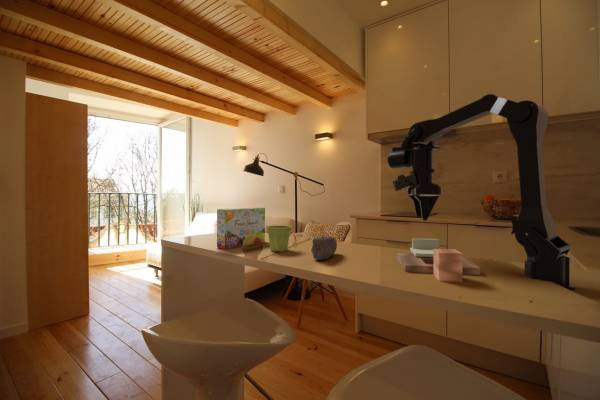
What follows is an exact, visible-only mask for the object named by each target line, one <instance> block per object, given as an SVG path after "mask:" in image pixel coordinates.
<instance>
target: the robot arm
mask: <svg viewBox="0 0 600 400" xmlns="http://www.w3.org/2000/svg"><path fill="white" fill-rule="evenodd" d="M493 114H494V115H496V116H499V117H503V118H505V119H506V121H507V126H508V128H509V132H510V133H511V136H512V137H513V140H514V142H515V144H516V151H517V164H518V165H517V166H518V178H519V192H520V210H519V213H518V214H514V215H513V214H512V215H510V222H511V224H512V230H511V233H510V234H511V235H514V237H515V240H516V242H517V243H518V244H520V245H521V246H522V247H523V249H524V251H525V254H526V260H524V276H525V277H527V278H528V279H531V280H538V281H539V280H541V281H546V282H551V283H553V284H555V285H557V286H560V287H561V288H564V289H566V290H576V286H574V285H572V284H571V283H570V280H571V279H570V278H571V277H570V276H571V273H570V271H571V270H570V269H571V267H570V266H571V265H570V261H571V260H570V257H569V256H568V254H569V252H570V250H571V249H572V245H570V243H568V242H567V241H566V240H564V239H563V238H562V237H561V236H560V235H558V231H557V228H556V223H555V221H554V218H553V216H552V214H551V212H550V209H549V208H548V206H547V205H548V204H547V194H546V181H545V180H546V179H545V168H544V166H545V165H544V155H543V152H544V151H543V140H544V137H545V135H546V132H547V126H548V120H549V112H548V110H547V108H545V107H543V105H540V104H538V103H536V102H534V101H532V100H522V101H519V102H517V101H513V100H511V99H507V98H503V97H500V96H497V95H495V94H492V93H488V94H486V95H484V96H482V97H481V98H479V99H477V100H474V101H473V102H470V103H468V104H466V105H464V106H461V107H459V108H457V109H455V110H453V111H450V112H448V113H447V114H444V115H442V116H440V117H436V118H433V119H432V118H431V119H425V120H421V121H418V122H415V123H414V124H412V125H410V128H409V130H408V133H407V135H406V137H405V138H404V140H403V141H402V143H401V145H400V146H398V147H397V146H394V147H392V148H391V151H390V153H389V154H388V157H387V164H388V166H389V167H390V168H391V169H404V168H405V169H406V168H407V169H408V168H411V170H410V171H409V175H406V176H405V175H404V174H400V175H398V176H396V177H397V178H396V179H395V180H392V181H391V184H392V188H393V189H394V192H398V191H401V190H402V189H405V188H406V195H407V196H408V198H409V199H411V201H412V203H413V206H414V211H415V215H416V218H422V220H423V221H428V219H429V217H430V215H431V213H432V211H433V209H434V207H435V205H436V203H437V201H438V199H439V198H440V195H442V188H441V187H442V186H440V185H439V184H438V183H437V184H436V183H433V177H434V176H433V175H434V174H435V168H433V167H434V166H433V164H434V163H433V162H434V161H433V160H434V156H433V155H434V154H433V153H434V152H433V151H438V150H441V147H440V145H438V144H437V143H436V141H437V140H439V139H440V138H441V137H442V136H443V135H445V134H446V133H448V132H450V131H452V130H455V129H457V128H459V127H462V126H465V125H466V124H470V123H472V122H474V121H477V120H479V119H482V118H484V117H487V116H489V115H493Z"/></svg>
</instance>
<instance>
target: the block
mask: <svg viewBox="0 0 600 400" xmlns="http://www.w3.org/2000/svg"><path fill="white" fill-rule="evenodd" d="M433 251H434V273H433V276H434V277H435V278H436V280H437V281H439V282H448V283H449V282H453V283H454V282H456V283H463V274H462V257H463V253H462V252H460V251H459V250H457V249H456V248H455V249H453V248H452V249H451V248H450V249H449V248H447V249H446V248H440V249H433Z"/></svg>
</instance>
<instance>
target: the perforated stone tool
mask: <svg viewBox="0 0 600 400" xmlns="http://www.w3.org/2000/svg"><path fill="white" fill-rule="evenodd" d="M337 247H338V242H337V240H336V239H335V238H334V237H333V236H329V235H327V236H320V237H316V238H313V239H312V247H311V250H310V251H311V253H312V257H313V259H314V260H316V261H323V260H327V259H329V258H331V257H332V256H333V255H334V254H335V253H336V250H337Z"/></svg>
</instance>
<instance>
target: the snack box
mask: <svg viewBox="0 0 600 400" xmlns="http://www.w3.org/2000/svg"><path fill="white" fill-rule="evenodd" d="M265 242H266V207H262V206H261V207H259V206H257V207H256V206H255V207H251V206H250V207H231V208H217V210H216V247H217V248H218V249H222V250H227V249H233V248H238V247H239V248H240V247H244V246H249V245H255V244H254V243H256V244H259V243H261V244H262V243H265Z"/></svg>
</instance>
